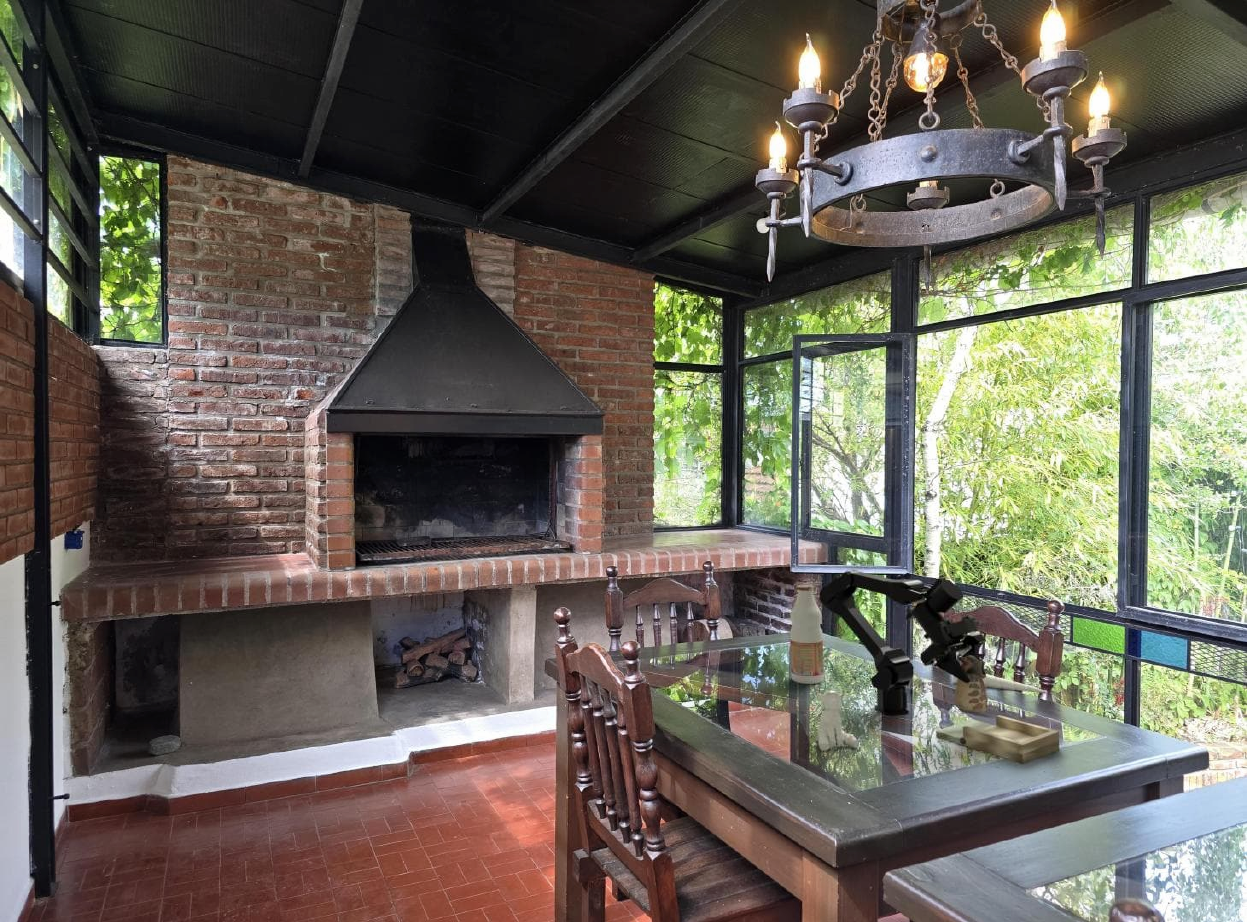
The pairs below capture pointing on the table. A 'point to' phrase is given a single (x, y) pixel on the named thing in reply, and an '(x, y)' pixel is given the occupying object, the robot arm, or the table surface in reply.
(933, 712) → the table surface
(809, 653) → the fruit juice
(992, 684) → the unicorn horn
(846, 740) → the beige lumpy upright piece
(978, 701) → the figurine
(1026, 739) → the shallow wooden tray
